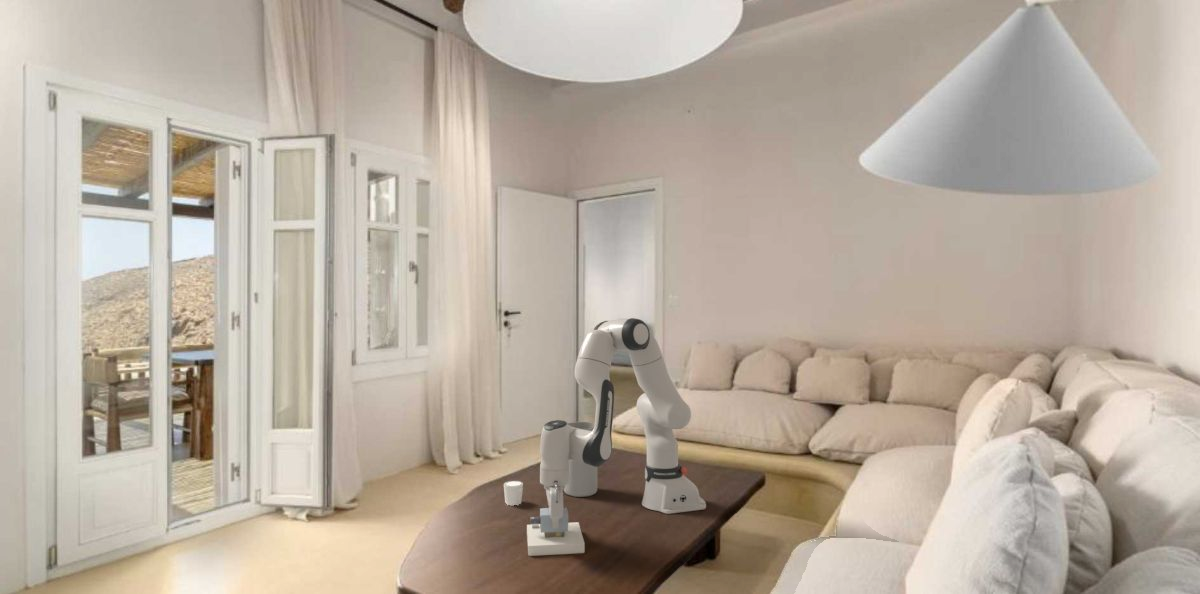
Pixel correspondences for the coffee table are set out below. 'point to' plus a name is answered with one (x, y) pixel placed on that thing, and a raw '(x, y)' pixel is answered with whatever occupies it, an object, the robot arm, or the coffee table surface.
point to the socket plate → (555, 541)
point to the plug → (546, 522)
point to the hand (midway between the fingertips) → (554, 522)
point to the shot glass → (513, 492)
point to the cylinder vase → (581, 471)
